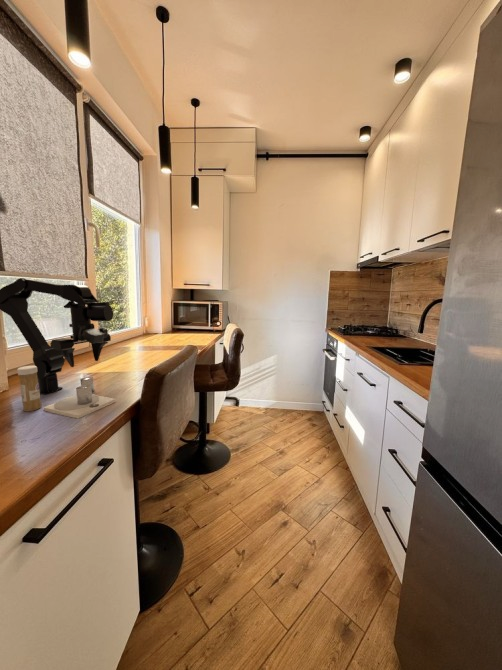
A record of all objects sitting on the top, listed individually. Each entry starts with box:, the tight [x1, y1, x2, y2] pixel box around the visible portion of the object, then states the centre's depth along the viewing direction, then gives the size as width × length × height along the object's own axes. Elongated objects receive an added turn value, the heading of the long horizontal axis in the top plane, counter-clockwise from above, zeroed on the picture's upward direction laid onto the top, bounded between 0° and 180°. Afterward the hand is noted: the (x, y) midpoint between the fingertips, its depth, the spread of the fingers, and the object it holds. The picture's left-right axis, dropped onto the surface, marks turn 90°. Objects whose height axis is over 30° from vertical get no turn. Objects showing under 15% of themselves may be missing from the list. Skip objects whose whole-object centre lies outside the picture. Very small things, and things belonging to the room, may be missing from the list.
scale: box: [42, 393, 116, 420], centre depth 84 cm, size 15×13×2 cm
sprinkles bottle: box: [16, 365, 42, 412], centre depth 80 cm, size 5×5×13 cm
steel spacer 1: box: [79, 376, 95, 392], centre depth 96 cm, size 4×4×5 cm
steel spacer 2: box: [75, 385, 93, 405], centre depth 82 cm, size 4×4×5 cm
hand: (85, 363), depth 95 cm, fingers open, 9 cm apart
